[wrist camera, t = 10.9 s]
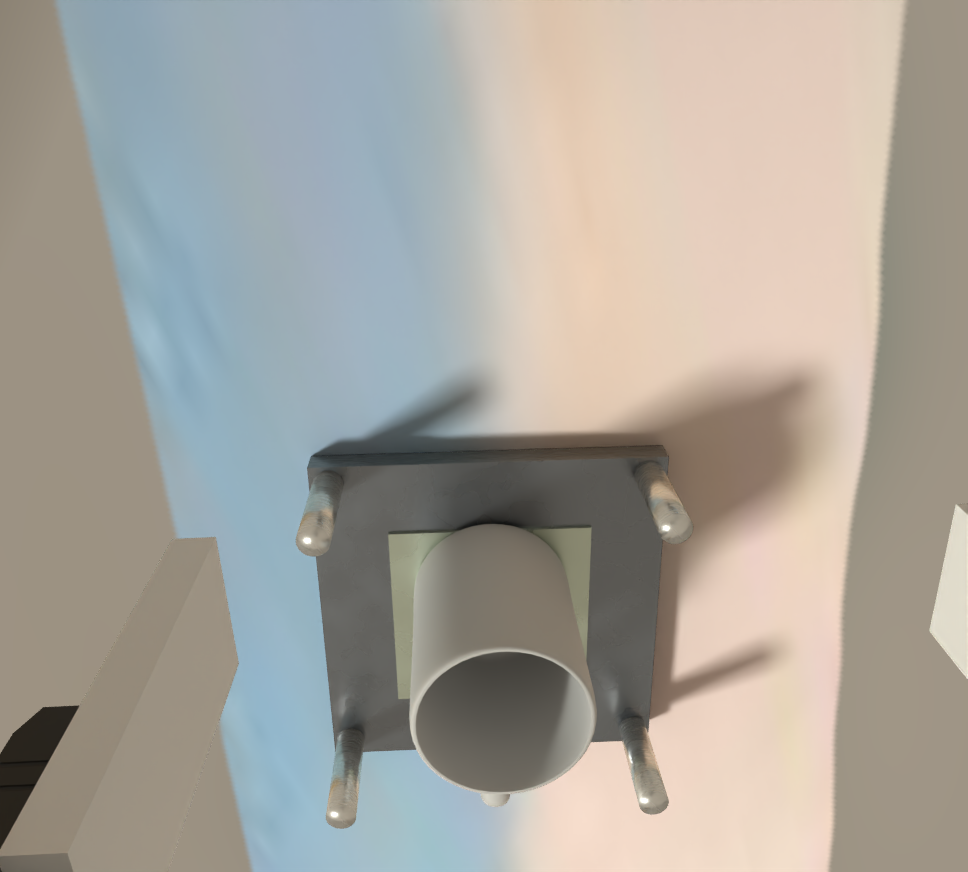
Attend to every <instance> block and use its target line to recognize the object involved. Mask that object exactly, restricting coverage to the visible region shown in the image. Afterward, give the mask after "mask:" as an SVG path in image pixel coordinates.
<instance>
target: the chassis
mask: <svg viewBox="0 0 968 872" xmlns="http://www.w3.org/2000/svg"><path fill="white" fill-rule="evenodd" d="M668 460H669V456H668V455H667V453H666V451H665V449H664V448H663V446H629V447H595V448H562V449H529V450H496V451H463V452H430V453H397V454H363V455H330V456H311V458H310V461H309V464H308V467H307V471H308V481H309V491H310V493H309V496H308V500H307V503H306V506H305V510H304V513H303V516H302V520H301V523H300V527H299V530H298V533H297V537H296V545H297V547H298V549H299V550H300V551H301V552H302V553H304V554H305V555H308V556H316V561H317V571H318V581H319V591H320V601H321V611H322V621H323V632H324V642H325V652H326V662H327V672H328V682H329V692H330V702H331V712H332V722H333V732H334V742H335V759H334V766H333V772H332V779H331V786H330V793H329V799H328V806H327V813H326V820H327V822H328V824H329V825H331V826H332V827H335V828H340V829H342V828H347V827H350V826H351V825H352V824H353V823H354V822H355V820H356V812H357V803H358V794H359V784H360V775H361V766H362V757H363V752H369V751H393V750H417V749H416V747H415V745H414V742H413V739H412V735H411V731H410V720H409V711H410V689H411V667H412V646H413V620H414V587H415V582H416V577H417V574H418V572H419V569H420V567H421V565H422V563H423V561H424V560H425V558H426V557H427V555H428V554H429V553H430V551H431V550H432V549H433V548H434V547H435V546H436V545H437V544H438V543H440V542H441V541H442V540H444V539H445V538H446V537H448V536H450V535H452V534H453V533H455V532H458V531H460V530H462V529H465V528H468V527H472V526H477V525H483V524H504V525H510V526H515V527H518V528H521V529H524V530H526V531H528V532H530V533H533V534H534V535H536V536H537V537H539V538H541V539H542V540H543V541H544V542H545V543H547V544H548V545H549V546H550V547H551V549H552V550H553V551H554V552H555V553H556V555H557V556H558V558H559V559H560V561H561V563H562V565H563V567H564V570H565V573H566V576H567V579H568V583H569V588H570V594H571V599H572V603H573V608H574V612H575V616H576V621H577V625H578V629H579V633H580V637H581V641H582V645H583V650H584V654H585V658H586V662H587V666H588V670H589V674H590V678H591V683H592V687H593V691H594V695H595V702H596V709H597V717H596V726H595V731H594V735H593V737H592V740H591V742H606V741H622V742H623V746H624V750H625V753H626V757H627V761H628V765H629V768H630V772H631V776H632V780H633V783H634V787H635V791H636V795H637V798H638V802H639V806H640V809H641V810H642V811H643V812H644V813H647V814H658V813H661V812H662V811H664V810H665V809H666V808H667V806H668V803H669V801H668V797H667V794H666V791H665V787H664V784H663V781H662V778H661V774H660V771H659V768H658V765H657V761H656V758H655V755H654V752H653V748H652V745H651V742H650V739H649V735H648V728H649V715H650V701H651V688H652V675H653V661H654V648H655V634H656V621H657V608H658V594H659V581H660V567H661V554H662V541H663V540H664V541H665V542H667V543H670V544H679V543H682V542H684V541H686V540H687V539H688V538H689V537H690V536H691V534H692V531H693V524H692V521H691V520H690V518H689V516H688V514H687V512H686V510H685V508H684V507H683V505H682V503H681V501H680V499H679V497H678V496H677V494H676V492H675V490H674V488H673V486H672V484H671V483H670V481H669V479H668V477H667V474H668Z"/></svg>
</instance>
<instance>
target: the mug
mask: <svg viewBox="0 0 968 872" xmlns="http://www.w3.org/2000/svg"><path fill="white" fill-rule="evenodd" d="M596 717H597V709H596V702H595V695H594V691H593V687H592V683H591V678H590V674H589V670H588V666H587V662H586V658H585V654H584V650H583V645H582V641H581V637H580V633H579V629H578V625H577V621H576V616H575V612H574V608H573V603H572V599H571V594H570V588H569V583H568V579H567V576H566V573H565V570H564V567H563V565H562V563H561V561H560V559H559V558H558V556H557V555H556V553H555V552H554V551H553V550H552V549H551V547H550V546H549V545H548V544H547V543H545V542H544V541H543V540H542V539H541V538H539V537H537V536H536V535H534V534H533V533H530V532H528V531H526V530H524V529H521V528H518V527H515V526H510V525H504V524H483V525H477V526H472V527H468V528H465V529H462V530H460V531H458V532H455V533H453V534H452V535H450V536H448V537H446V538H445V539H444V540H442V541H441V542H440V543H438V544H437V545H436V546H435V547H434V548H433V549H432V550H431V551H430V553H429V554H428V555H427V557H426V558H425V560H424V561H423V563H422V565H421V567H420V569H419V572H418V574H417V577H416V582H415V587H414V620H413V646H412V667H411V689H410V711H409V720H410V731H411V735H412V739H413V742H414V745H415V747H416V749H417V752H418V753H419V755H420V756H421V758H422V759H423V761H424V762H425V763H426V764H427V765H428V767H429V768H430V769H431V770H433V771H434V772H435V773H436V774H437V775H438V776H440V777H441V778H443V779H444V780H446V781H448V782H450V783H452V784H454V785H456V786H458V787H461V788H463V789H466V790H470V791H474V792H478V793H481V798H482V800H483V801H484V803H485V804H487V805H489V806H492V807H499V806H503V805H504V804H506V803H507V801H508V800H509V797H510V794H514V793H520V792H525V791H529V790H533V789H536V788H538V787H541V786H544V785H546V784H548V783H550V782H552V781H554V780H556V779H557V778H559V777H560V776H562V775H563V774H565V773H566V772H567V771H568V770H570V769H571V768H572V767H573V766H574V765H575V764H576V763H577V762H578V761H579V760H580V759H581V757H582V756H583V754H584V753H585V752H586V750H587V748H588V746H589V745H590V743H591V740H592V737H593V735H594V731H595V726H596Z"/></svg>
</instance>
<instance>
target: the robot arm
mask: <svg viewBox="0 0 968 872" xmlns="http://www.w3.org/2000/svg"><path fill="white" fill-rule="evenodd" d="M930 632H931V634H932V635H933V636H934V637H935V639H936V640H937V641H938V642H939V644H940V645H941V646H942V648H943V649H944V650H945V651H946V653H947V654H948V655H949V656H950V658H951V659H952V660H953V661H954V663H955V664H956V665H957V666H958V668H959V669H960V670H961V671H962V673H963V674H964V675H965V676H966V678H967V679H968V504H956V507H955V512H954V517H953V521H952V526H951V531H950V536H949V540H948V545H947V550H946V555H945V559H944V564H943V569H942V574H941V579H940V583H939V588H938V593H937V598H936V602H935V607H934V612H933V617H932V621H931V626H930ZM238 664H239V663H238V657H237V652H236V646H235V641H234V635H233V630H232V624H231V619H230V613H229V608H228V602H227V597H226V591H225V586H224V580H223V575H222V569H221V564H220V558H219V553H218V547H217V542H216V537H207V538H185V539H172V540H171V542H170V544H169V545H168V547H167V549H166V551H165V552H164V554H163V556H162V558H161V560H160V562H159V563H158V565H157V567H156V569H155V571H154V573H153V574H152V576H151V578H150V580H149V582H148V583H147V585H146V587H145V589H144V590H143V592H142V594H141V596H140V598H139V600H138V601H137V603H136V605H135V607H134V609H133V611H132V612H131V614H130V616H129V618H128V620H127V621H126V623H125V625H124V627H123V628H122V630H121V632H120V634H119V636H118V637H117V639H116V641H115V643H114V645H113V646H112V648H111V650H110V652H109V654H108V656H107V657H106V659H105V661H104V663H103V665H102V666H101V668H100V670H99V672H98V674H97V675H96V677H95V679H94V681H93V683H92V684H91V686H90V688H89V690H88V692H87V693H86V695H85V697H84V699H83V701H82V702H81V704H80V706H61V707H43V708H42V709H41V710H40V711H39V712H37V713H36V714H35V715H34V716H33V717H32V718H31V719H29V720H28V721H27V722H26V723H25V724H23V725H22V726H21V727H20V728H19V729H18V730H16V731H15V732H14V733H13V734H12V736H11V738H10V740H9V741H8V743H7V744H6V746H5V747H4V749H3V750H2V752H1V754H0V872H168V870H169V867H170V864H171V861H172V859H173V856H174V853H175V850H176V847H177V844H178V841H179V838H180V835H181V832H182V829H183V826H184V823H185V820H186V817H187V814H188V811H189V808H190V806H191V803H192V799H193V797H194V794H195V791H196V788H197V785H198V782H199V779H200V776H201V773H202V770H203V767H204V764H205V761H206V758H207V755H208V752H209V749H210V747H211V743H212V741H213V738H214V735H215V732H216V729H217V726H218V723H219V720H220V717H221V714H222V711H223V708H224V705H225V702H226V699H227V696H228V693H229V691H230V688H231V685H232V682H233V679H234V676H235V673H236V670H237V667H238Z"/></svg>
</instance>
